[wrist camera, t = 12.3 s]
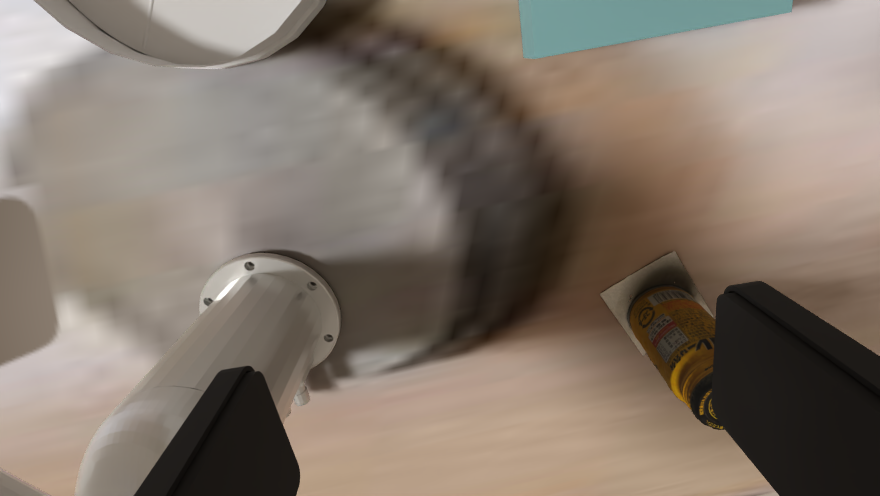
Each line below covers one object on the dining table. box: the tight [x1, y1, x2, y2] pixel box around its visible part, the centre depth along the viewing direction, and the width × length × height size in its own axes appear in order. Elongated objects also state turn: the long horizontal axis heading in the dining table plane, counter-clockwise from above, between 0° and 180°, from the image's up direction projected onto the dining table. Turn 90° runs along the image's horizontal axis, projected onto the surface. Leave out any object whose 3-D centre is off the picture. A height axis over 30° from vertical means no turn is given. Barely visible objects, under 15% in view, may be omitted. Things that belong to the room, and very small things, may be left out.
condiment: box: [600, 251, 725, 430], centre depth 37 cm, size 7×8×12 cm
